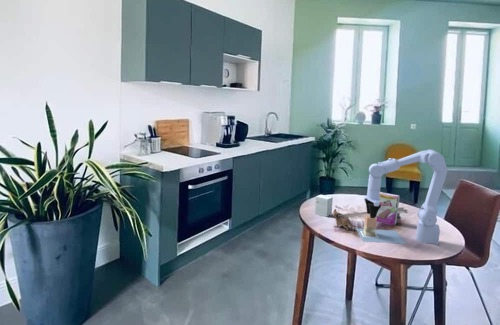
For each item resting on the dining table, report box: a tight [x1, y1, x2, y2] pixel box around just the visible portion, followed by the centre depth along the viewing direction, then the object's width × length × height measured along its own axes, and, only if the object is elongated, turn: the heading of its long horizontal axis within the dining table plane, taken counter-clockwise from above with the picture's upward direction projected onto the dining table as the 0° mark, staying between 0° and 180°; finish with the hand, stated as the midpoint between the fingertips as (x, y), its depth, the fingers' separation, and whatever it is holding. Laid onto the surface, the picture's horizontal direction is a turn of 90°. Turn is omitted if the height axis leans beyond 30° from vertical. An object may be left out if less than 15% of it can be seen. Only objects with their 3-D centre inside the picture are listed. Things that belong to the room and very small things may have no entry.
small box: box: [314, 194, 333, 218], centre depth 206 cm, size 8×6×10 cm
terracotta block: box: [363, 214, 378, 229], centre depth 177 cm, size 4×4×4 cm
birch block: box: [363, 223, 377, 236], centre depth 177 cm, size 4×4×4 cm
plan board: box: [355, 227, 407, 245], centre depth 177 cm, size 20×16×1 cm
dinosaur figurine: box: [332, 209, 357, 231], centre depth 185 cm, size 14×6×9 cm, turn 49°
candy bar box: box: [376, 191, 401, 226], centre depth 194 cm, size 11×5×16 cm, turn 58°
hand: (371, 215), depth 176 cm, fingers open, 6 cm apart
